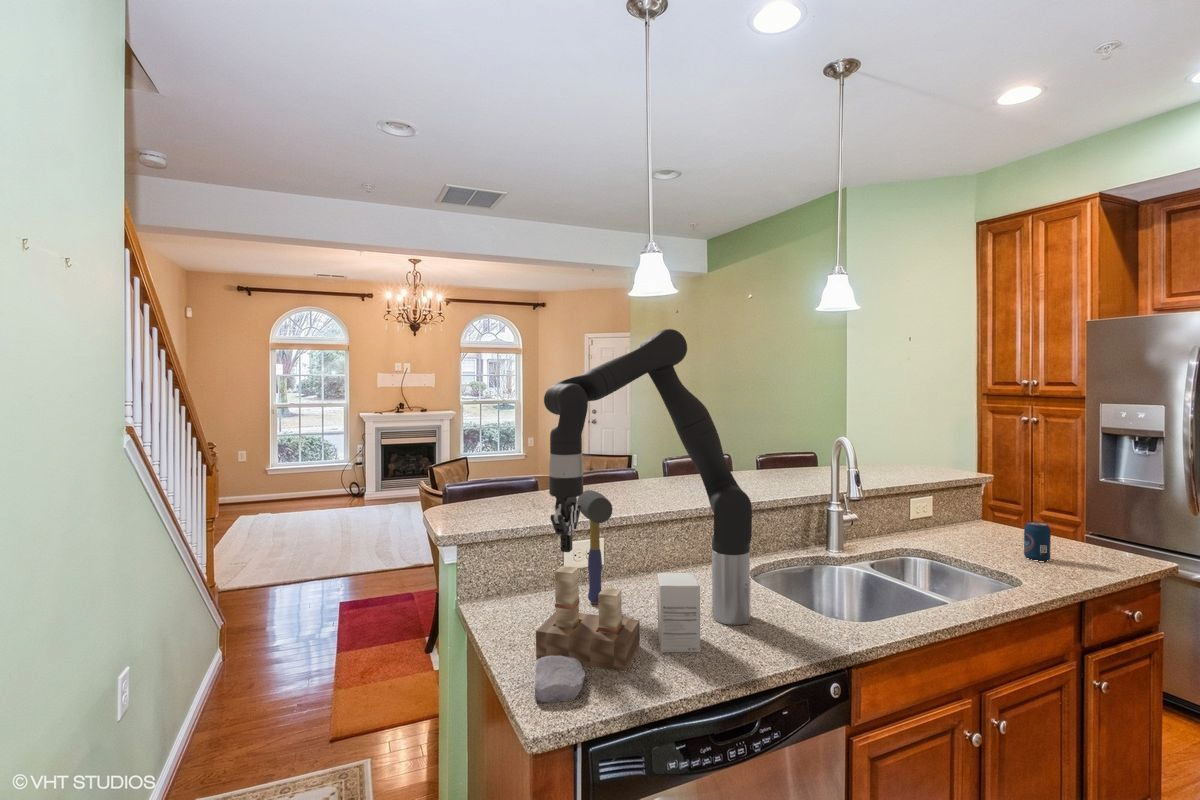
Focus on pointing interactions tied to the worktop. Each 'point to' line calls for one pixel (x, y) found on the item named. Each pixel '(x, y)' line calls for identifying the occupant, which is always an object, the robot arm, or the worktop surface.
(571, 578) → the far birch peg
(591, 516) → the rubber mallet
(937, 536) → the worktop surface
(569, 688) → the stone block
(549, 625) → the wooden mortise block
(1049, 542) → the soda can
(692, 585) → the supplement box
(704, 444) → the robot arm
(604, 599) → the near birch peg
